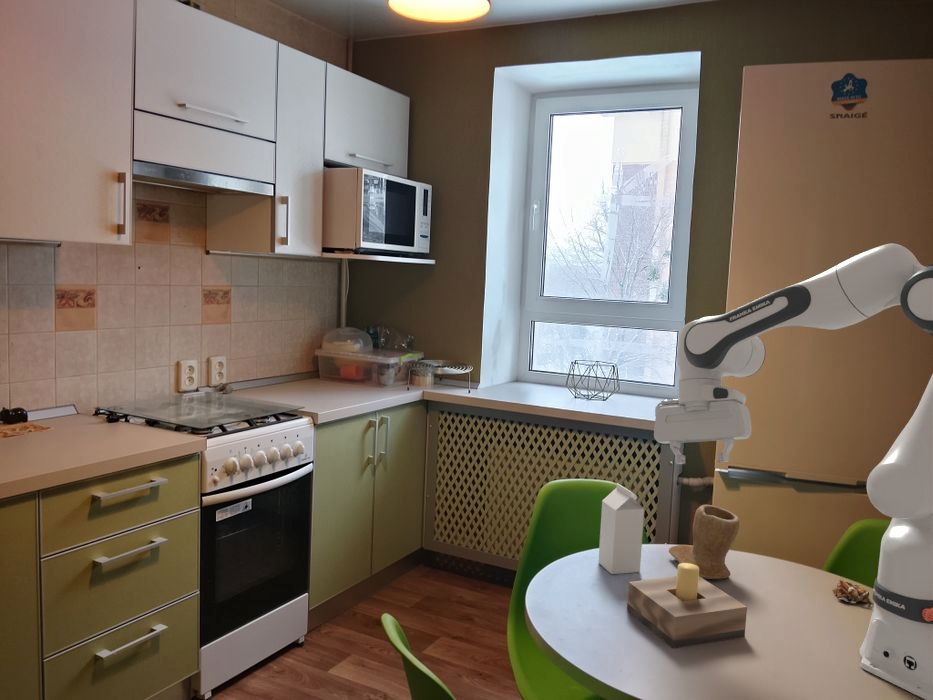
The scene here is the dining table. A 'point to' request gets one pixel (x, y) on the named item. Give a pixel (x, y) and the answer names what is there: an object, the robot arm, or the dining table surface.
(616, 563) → the milk carton
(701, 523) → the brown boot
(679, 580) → the pin
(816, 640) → the dining table surface
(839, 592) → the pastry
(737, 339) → the robot arm
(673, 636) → the bore block
